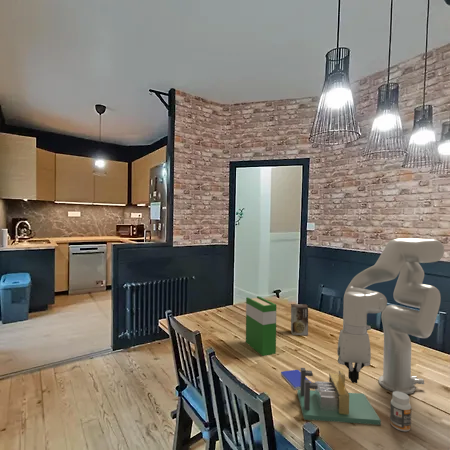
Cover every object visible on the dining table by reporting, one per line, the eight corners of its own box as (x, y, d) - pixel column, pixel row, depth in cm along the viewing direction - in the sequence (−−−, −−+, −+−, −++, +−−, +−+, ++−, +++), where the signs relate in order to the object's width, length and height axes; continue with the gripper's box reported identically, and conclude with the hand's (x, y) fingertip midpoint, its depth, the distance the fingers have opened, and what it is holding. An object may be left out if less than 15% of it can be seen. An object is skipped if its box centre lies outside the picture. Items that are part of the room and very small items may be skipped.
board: (363, 397, 113) (364, 368, 112) (380, 424, 98) (381, 391, 97) (297, 393, 115) (297, 365, 115) (304, 419, 100) (304, 386, 100)
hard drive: (313, 384, 120) (298, 369, 132) (295, 386, 117) (280, 371, 129) (313, 388, 120) (298, 372, 132) (294, 391, 118) (280, 375, 129)
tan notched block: (337, 390, 113) (337, 362, 113) (349, 414, 99) (349, 382, 99) (328, 390, 114) (329, 362, 114) (339, 414, 100) (340, 382, 100)
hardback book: (245, 342, 162) (246, 297, 162) (257, 340, 165) (258, 296, 165) (262, 356, 146) (263, 306, 146) (275, 353, 149) (276, 304, 149)
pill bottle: (408, 435, 93) (409, 402, 93) (387, 426, 97) (388, 395, 97) (412, 425, 97) (413, 395, 97) (392, 418, 101) (393, 388, 101)
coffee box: (306, 331, 179) (306, 304, 179) (308, 335, 173) (308, 307, 173) (290, 330, 180) (291, 303, 180) (291, 334, 174) (292, 306, 174)
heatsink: (337, 394, 111) (337, 380, 111) (345, 412, 102) (345, 395, 101) (314, 393, 112) (315, 378, 112) (320, 410, 102) (321, 394, 102)
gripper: (372, 325, 109) (371, 377, 109) (329, 323, 110) (328, 374, 110) (381, 333, 101) (380, 388, 102) (335, 331, 103) (334, 385, 103)
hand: (353, 381), depth 106 cm, fingers closed
